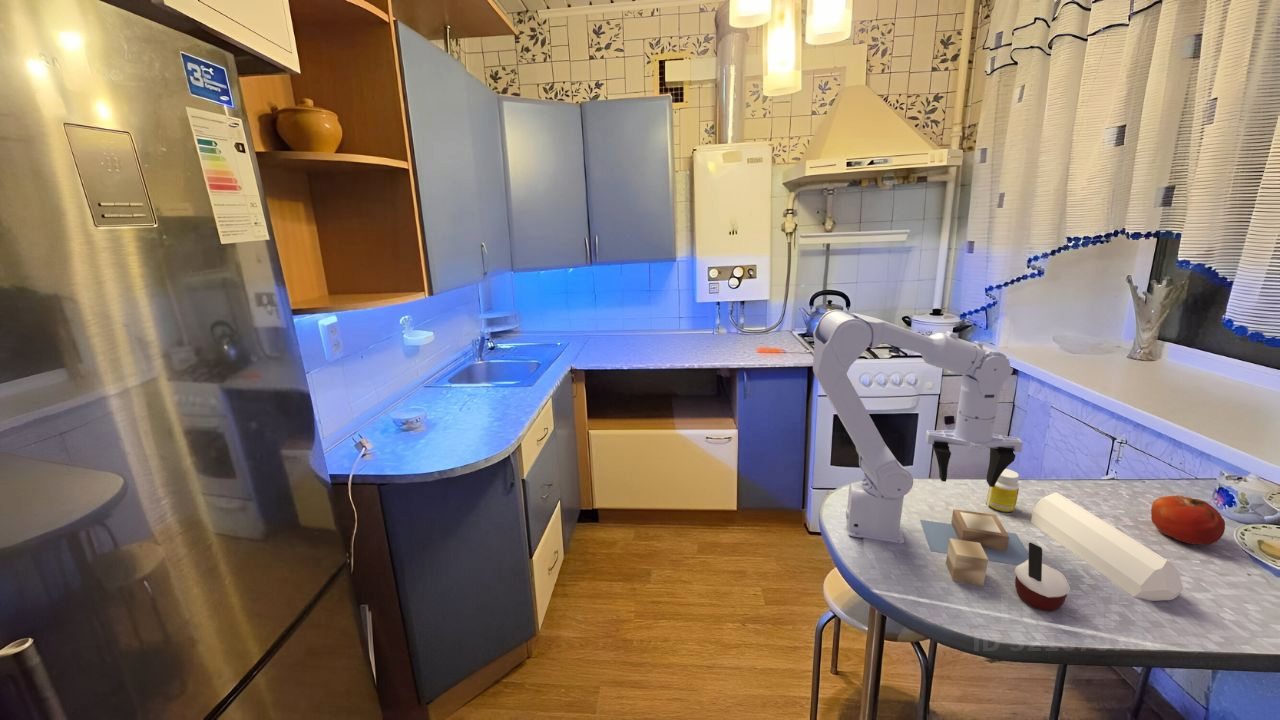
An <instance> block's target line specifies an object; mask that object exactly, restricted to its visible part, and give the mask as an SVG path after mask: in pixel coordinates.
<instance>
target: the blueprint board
mask: <svg viewBox="0 0 1280 720" xmlns="http://www.w3.org/2000/svg"><path fill="white" fill-rule="evenodd" d="M919 521H920V524H921V528H922V530H923V534H924V536H925V539H926V542H927V544H928V545H927V546H928V548H929V550H930V552H934V553H939V554H946V555H947V553H948V547H949V540H950V538H952V539H958V537H957V535H956V532H955V530H954V528H953V526H952V523H947V522H938V521H933V520H925V519H919ZM1006 532H1007V534H1008V536H1009V541H1008V546H1007V551H999V550H993V549H986V548H983V550H984V552H985V554H986V556H987V558H988V562H996V563H1003V564H1009V565H1014V566H1018V565H1020V564H1022V563H1024V562H1025V561H1026V560H1028V559H1029V550H1028V549H1027V548H1026V547H1025V545H1024V543H1023V542H1022V541H1021V539H1020V537H1019V535H1018V534H1017V533H1016V532H1009V531H1006ZM958 540H959V539H958Z"/></svg>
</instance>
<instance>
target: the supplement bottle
mask: <svg viewBox="0 0 1280 720" xmlns="http://www.w3.org/2000/svg"><path fill="white" fill-rule="evenodd" d="M1019 478H1020V474H1019V473H1018V472H1016V471H1014V470H1012V469H1009V468H1006V469H1005V470H1004V471H1003V472H1002V474H1001V475H1000V477H999V478H998V480H997V482H996V484H995V486H994V487H990V486H988V490H987V497H986V502H985V505H986V508H987V509H989V510H991V511H992V512H994V513H997V514H1000V515H1009V516H1010V515H1013V514H1014V513H1015V510H1016V506H1017V500H1018V494H1019V490H1020V485H1019V483H1018V482H1019V480H1020V479H1019Z"/></svg>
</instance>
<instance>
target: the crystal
mask: <svg viewBox="0 0 1280 720" xmlns="http://www.w3.org/2000/svg"><path fill="white" fill-rule="evenodd" d="M1031 511H1032V513H1031V521H1030V522H1031V524H1032V525H1034V526H1035V527H1037V528H1038V529H1039V530H1040V531H1042V532H1043V533H1045V534H1046V535H1048V536H1049V537H1051V539H1053V540H1054V541H1056V542H1057V543H1059V544H1060V545H1061V546H1063V547H1064V548H1066V549H1067V551H1069V552H1071V553H1072V554H1074V555H1075V556H1076V557H1078V558H1079V559H1080V560H1082V561H1083V562H1085V563H1086V564H1088V565H1089V566H1090V567H1091V568H1093V569H1094V570H1096V571H1097V572H1099V574H1101V575H1102V576H1104V577H1105V578H1107V579H1109V581H1111V582H1113V584H1115V585H1116V586H1118V587H1119V588H1121V589H1122V590H1123V591H1125V592H1126V593H1128V594H1129V595H1130V596H1132V597H1133V598H1137V599H1142V600H1148V601H1150V602H1152V601H1153V602H1154V601H1155V602H1157V601H1171V600H1174V599H1175V598H1177V597H1178V596H1179V595H1180V594H1181V593H1182V591H1183V590H1184V586H1183V585H1184V584H1183V582H1182V579H1181V577H1180V573H1179V571H1178V568H1177V566H1175V565H1174V564H1173V563H1171V562H1170V561H1169V560H1168V559H1166V558H1165V557H1163V556H1161V555H1160V554H1158V553H1156V552H1155V551H1153V550H1151V549H1150V548H1148V547H1147V546H1146V545H1143V544H1142V543H1140V542H1138V540H1136V539H1133V538H1132V537H1131V536H1129V535H1127V534H1125V533H1124V532H1122V531H1121V530H1119V529H1117V528H1115V527H1114V526H1113V525H1111V524H1109V523H1108V522H1106V521H1105V520H1103V519H1102V518H1099V517H1098V516H1097V515H1095V514H1093V513H1091V512H1090V511H1088V510H1086V509H1085V508H1083V507H1082V506H1080V505H1078V504H1076V503H1075V502H1073V501H1071V500H1070V499H1068V498H1067V497H1065V496H1064V495H1062V494H1060V493H1059V492H1057V491H1056V492H1053V493H1050V494H1048V495H1046V496H1043V497H1042V498H1041V499H1040V500H1039V501H1037V503H1035V506H1034V507H1033V509H1032V510H1031Z"/></svg>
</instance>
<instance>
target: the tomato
mask: <svg viewBox="0 0 1280 720" xmlns="http://www.w3.org/2000/svg"><path fill="white" fill-rule="evenodd" d="M1150 512H1151V514H1150V515H1151V516H1150V517H1151V522H1152V523H1153V525H1154V526H1155V528H1156V529H1157V530H1158V531H1160V533H1162V534H1163V535H1166V536H1169V537H1172V538H1174V539H1175V540H1178V541H1179V542H1183V543H1186V544H1191V545H1201V546H1209V545H1212V544H1215V543H1216V542H1218V541H1220V539H1222V537H1223V536H1224V533H1225V531H1226V521H1225V519H1224V518H1223V517H1222V515H1221V513H1220V512H1219V511H1218V510H1217V509H1216V508H1215V507H1214V506H1212V505H1211V504H1209V503H1208V502H1207V501H1206V500H1205V501H1204V500H1202V499H1199V498H1193V497H1190V496H1187V497H1186V496H1182V495H1179V494H1176V495H1167V496H1162V497H1161V496H1160V497H1159V498H1156V499H1155V500H1153V502H1152V505H1151V509H1150Z"/></svg>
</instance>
